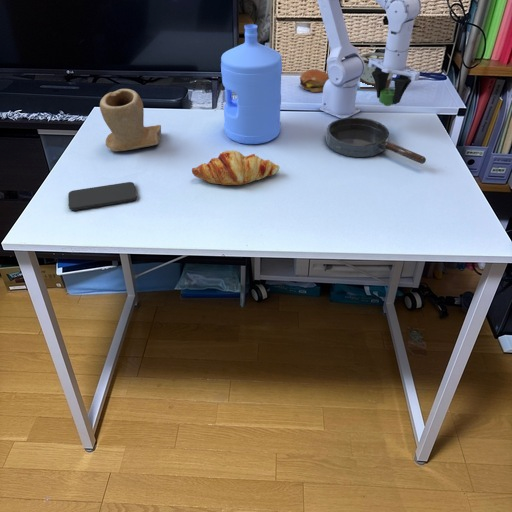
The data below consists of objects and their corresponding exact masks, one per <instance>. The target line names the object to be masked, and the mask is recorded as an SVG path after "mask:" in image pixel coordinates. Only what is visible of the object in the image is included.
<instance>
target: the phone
mask: <svg viewBox="0 0 512 512" xmlns="http://www.w3.org/2000/svg"><path fill="white" fill-rule="evenodd" d="M67 197H68V199H67V200H68V208H69V210H70V211H78V210H84V209H90V208H91V209H92V208H97V207H103V206H109V205H115V204H121V203H122V204H123V203H128V202H134V201H136V200H137V198H138V195H137V191H136V187H135V183H134V182H133V181H126V182H120V183H114V184H113V183H112V184H106V185H101V186H93V187H87V188H80V189H73V190H70V191H69V192H68V196H67Z"/></svg>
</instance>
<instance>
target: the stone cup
mask: <svg viewBox="0 0 512 512" xmlns="http://www.w3.org/2000/svg"><path fill="white" fill-rule="evenodd" d="M99 109H100V113H101V116H102V119H103V121H104V123H105V125H106V126H107V127H108V129H109V130H110V131H111V133H109V134H108V135H107V137H106V139H105V146H106V148H107V149H108V150H110V151H112V152H125V151H131V150H137V149H141V148H142V149H143V148H148V147H153V146H157V145H158V144H159V143H160V139H161V136H162V125H161V124H156V125H150V126H145V125H144V123H145V122H144V117H145V116H144V114H145V113H144V112H145V110H144V103H143V100H142V97H140V95H139V94H138V92H136V91H135V90H133V89H130V88H120V89H117V90H114V91H110V92H108V93H106V94H105V95H104V96H103V97H102V98H101V99H100V102H99Z"/></svg>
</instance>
